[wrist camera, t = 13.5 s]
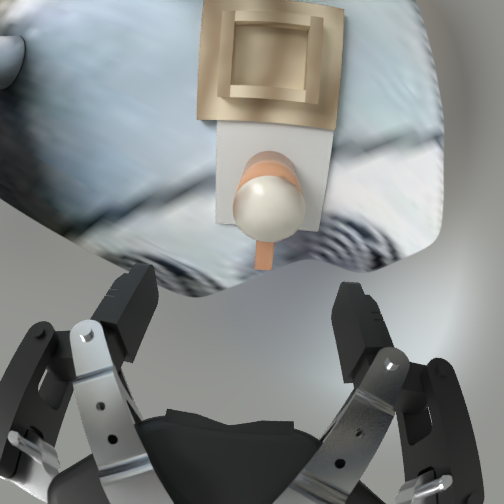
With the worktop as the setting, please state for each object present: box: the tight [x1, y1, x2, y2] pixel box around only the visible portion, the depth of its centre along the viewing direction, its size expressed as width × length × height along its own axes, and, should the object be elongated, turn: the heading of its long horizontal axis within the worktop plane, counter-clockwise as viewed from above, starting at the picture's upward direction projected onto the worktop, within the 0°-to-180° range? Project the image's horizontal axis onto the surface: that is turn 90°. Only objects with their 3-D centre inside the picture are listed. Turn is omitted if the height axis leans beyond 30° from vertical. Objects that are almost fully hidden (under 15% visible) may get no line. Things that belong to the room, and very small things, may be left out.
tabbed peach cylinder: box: [232, 151, 306, 270], centre depth 25 cm, size 10×6×9 cm, turn 177°
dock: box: [197, 0, 344, 130], centre depth 20 cm, size 14×14×3 cm
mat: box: [216, 120, 334, 232], centre depth 28 cm, size 12×12×1 cm
